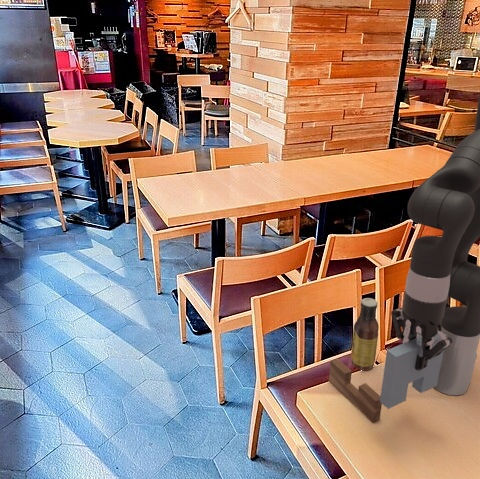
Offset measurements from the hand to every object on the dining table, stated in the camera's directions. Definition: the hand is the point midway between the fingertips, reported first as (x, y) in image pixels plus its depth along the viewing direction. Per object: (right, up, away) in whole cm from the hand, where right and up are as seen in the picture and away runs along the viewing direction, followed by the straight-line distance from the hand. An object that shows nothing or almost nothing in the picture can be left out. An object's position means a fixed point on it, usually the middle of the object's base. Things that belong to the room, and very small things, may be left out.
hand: (413, 364), depth 93 cm
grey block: (0, -7, +3) cm, 8 cm away
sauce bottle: (-3, -8, +30) cm, 31 cm away
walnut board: (-8, -13, +18) cm, 24 cm away
